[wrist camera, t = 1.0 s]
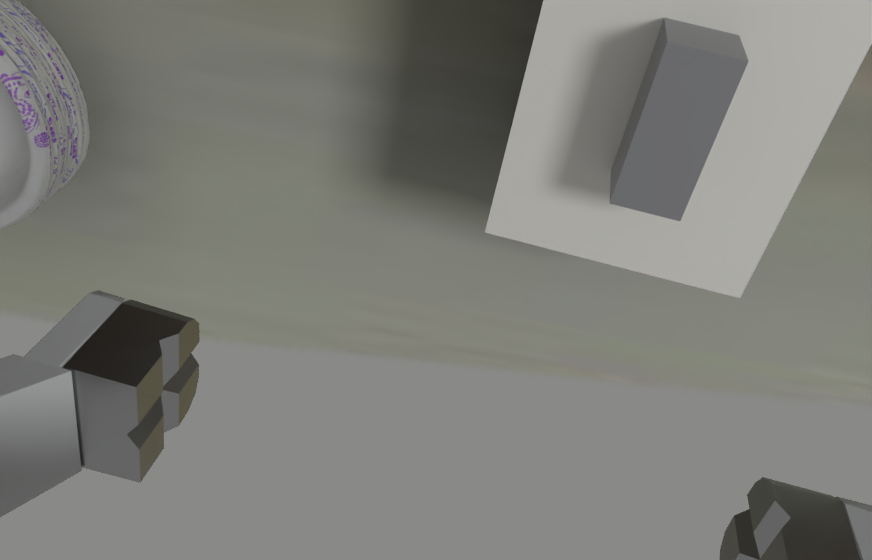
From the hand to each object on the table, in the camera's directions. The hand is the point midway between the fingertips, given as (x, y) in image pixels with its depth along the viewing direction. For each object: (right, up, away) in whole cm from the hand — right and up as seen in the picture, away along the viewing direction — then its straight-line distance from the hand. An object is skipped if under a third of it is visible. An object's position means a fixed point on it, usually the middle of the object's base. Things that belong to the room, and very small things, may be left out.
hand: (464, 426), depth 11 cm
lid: (+10, +11, +24) cm, 28 cm away
